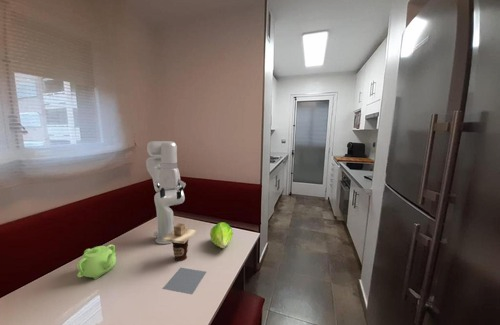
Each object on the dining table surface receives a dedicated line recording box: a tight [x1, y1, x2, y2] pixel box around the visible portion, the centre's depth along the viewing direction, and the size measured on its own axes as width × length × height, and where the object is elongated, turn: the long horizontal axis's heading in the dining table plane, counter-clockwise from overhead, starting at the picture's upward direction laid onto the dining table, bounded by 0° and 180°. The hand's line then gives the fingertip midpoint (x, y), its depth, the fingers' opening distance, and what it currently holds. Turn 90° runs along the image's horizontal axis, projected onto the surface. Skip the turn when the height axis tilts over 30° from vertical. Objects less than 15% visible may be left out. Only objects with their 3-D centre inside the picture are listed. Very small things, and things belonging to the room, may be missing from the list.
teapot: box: [76, 244, 117, 280], centre depth 95 cm, size 16×14×13 cm
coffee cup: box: [172, 238, 190, 262], centre depth 105 cm, size 9×8×13 cm
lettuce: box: [209, 221, 234, 249], centre depth 118 cm, size 14×20×12 cm
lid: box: [163, 222, 197, 244], centre depth 104 cm, size 12×12×6 cm
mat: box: [162, 267, 207, 295], centre depth 90 cm, size 14×14×1 cm
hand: (170, 197), depth 105 cm, fingers open, 9 cm apart
